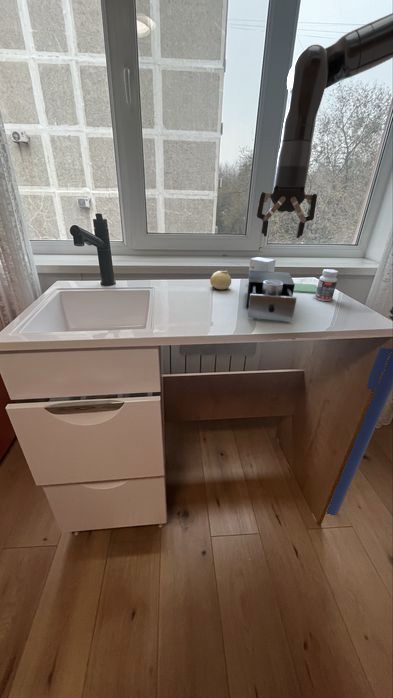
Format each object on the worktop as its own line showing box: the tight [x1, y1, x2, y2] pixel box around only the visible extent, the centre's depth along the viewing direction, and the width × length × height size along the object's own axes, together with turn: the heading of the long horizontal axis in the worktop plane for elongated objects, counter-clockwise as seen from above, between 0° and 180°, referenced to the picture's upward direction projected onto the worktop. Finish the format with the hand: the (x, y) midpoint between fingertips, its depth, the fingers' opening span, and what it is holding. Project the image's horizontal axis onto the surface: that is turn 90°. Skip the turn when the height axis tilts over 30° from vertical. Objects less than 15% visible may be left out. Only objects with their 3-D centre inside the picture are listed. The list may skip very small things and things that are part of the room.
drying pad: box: [293, 282, 317, 294], centre depth 111 cm, size 10×10×1 cm
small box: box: [247, 256, 276, 280], centre depth 110 cm, size 8×6×10 cm
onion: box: [209, 269, 232, 291], centre depth 108 cm, size 8×8×7 cm
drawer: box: [247, 284, 297, 322], centre depth 85 cm, size 15×12×7 cm
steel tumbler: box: [262, 280, 283, 296], centre depth 84 cm, size 6×6×8 cm
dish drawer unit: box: [245, 269, 295, 309], centre depth 95 cm, size 15×14×9 cm
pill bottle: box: [314, 268, 339, 302], centre depth 99 cm, size 6×6×10 cm
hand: (281, 236), depth 77 cm, fingers open, 8 cm apart
